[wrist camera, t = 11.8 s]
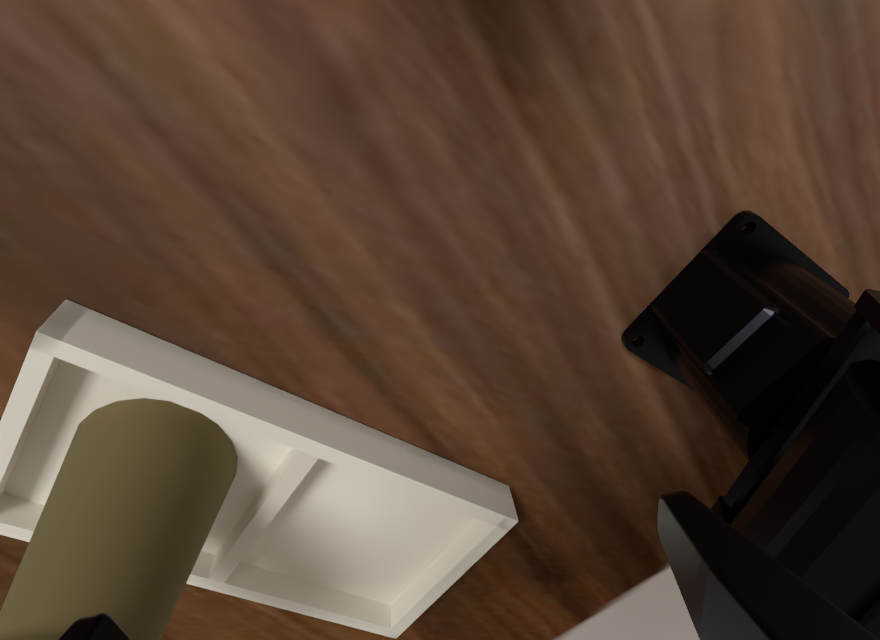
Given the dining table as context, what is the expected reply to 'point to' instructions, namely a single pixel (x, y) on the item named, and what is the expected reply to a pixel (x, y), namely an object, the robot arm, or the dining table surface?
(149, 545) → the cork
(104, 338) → the tray
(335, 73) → the dining table surface
